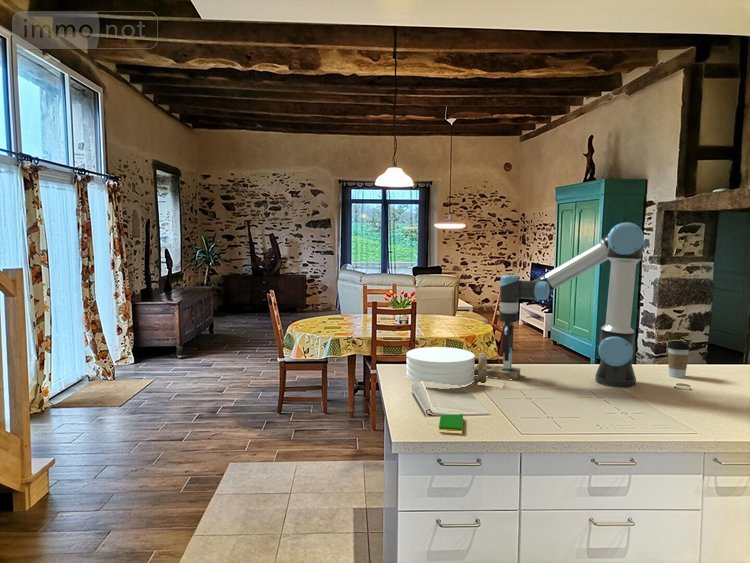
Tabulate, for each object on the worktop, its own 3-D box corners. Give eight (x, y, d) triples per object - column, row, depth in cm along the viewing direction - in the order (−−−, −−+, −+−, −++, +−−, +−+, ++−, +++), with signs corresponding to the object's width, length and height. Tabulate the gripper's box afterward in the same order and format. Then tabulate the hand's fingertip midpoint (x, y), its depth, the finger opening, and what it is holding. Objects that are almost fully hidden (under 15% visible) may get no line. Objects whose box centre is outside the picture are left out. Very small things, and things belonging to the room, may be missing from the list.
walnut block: (520, 376, 220) (520, 368, 219) (516, 382, 211) (516, 373, 210) (478, 371, 227) (478, 363, 227) (472, 377, 218) (473, 369, 218)
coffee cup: (668, 378, 217) (670, 343, 215) (663, 373, 225) (665, 339, 223) (691, 379, 214) (692, 344, 213) (685, 374, 222) (687, 340, 221)
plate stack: (397, 375, 223) (397, 349, 222) (457, 370, 230) (457, 345, 229) (420, 393, 196) (420, 364, 195) (486, 388, 203) (487, 359, 202)
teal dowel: (511, 375, 218) (512, 347, 217) (510, 377, 215) (510, 348, 214) (504, 374, 219) (504, 346, 218) (502, 376, 216) (503, 348, 215)
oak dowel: (487, 382, 209) (487, 353, 208) (485, 384, 206) (485, 354, 205) (479, 381, 210) (479, 352, 209) (477, 383, 207) (477, 354, 206)
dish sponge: (463, 420, 168) (463, 412, 168) (462, 435, 154) (462, 428, 154) (441, 418, 169) (441, 411, 169) (438, 434, 156) (438, 426, 155)
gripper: (503, 309, 224) (502, 362, 225) (495, 313, 209) (494, 370, 211) (521, 310, 220) (519, 363, 222) (514, 315, 206) (513, 372, 208)
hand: (507, 366), depth 217 cm, fingers closed on teal dowel, 3 cm apart
